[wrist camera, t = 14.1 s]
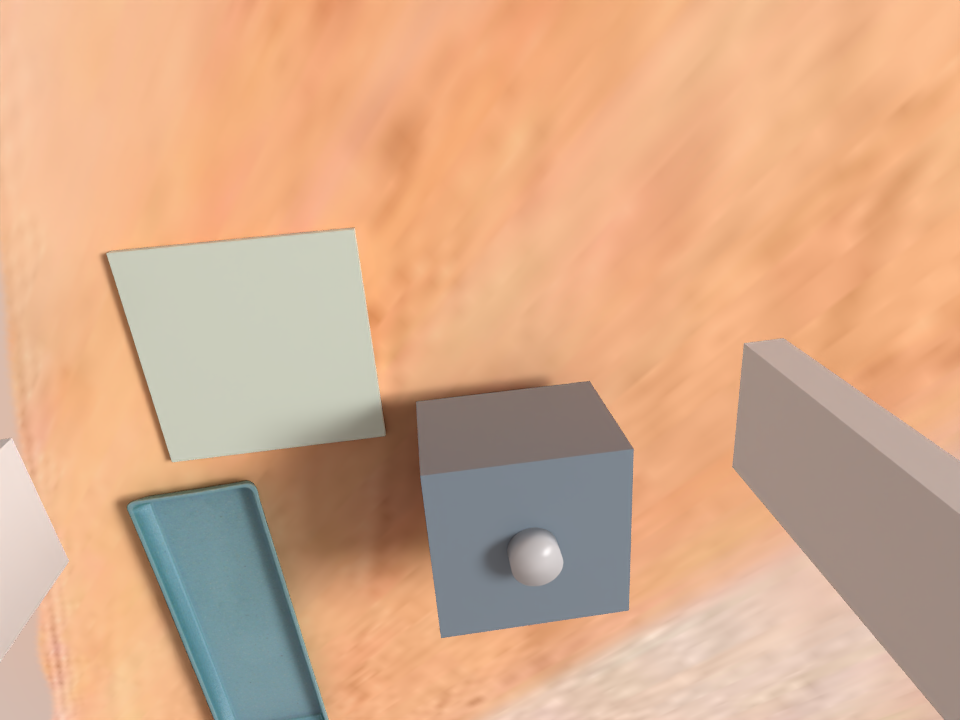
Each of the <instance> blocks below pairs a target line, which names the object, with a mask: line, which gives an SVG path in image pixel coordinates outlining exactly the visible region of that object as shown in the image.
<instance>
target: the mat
mask: <svg viewBox="0 0 960 720" xmlns="http://www.w3.org/2000/svg"><path fill="white" fill-rule="evenodd" d="M106 254H107V257H108V260H109V263H110V267H111V270H112V273H113V276H114V279H115V282H116V286H117V289H118V292H119V295H120V298H121V302H122V305H123V308H124V311H125V314H126V317H127V321H128V324H129V327H130V330H131V333H132V336H133V340H134V343H135V346H136V349H137V352H138V356H139V359H140V362H141V365H142V368H143V371H144V375H145V378H146V381H147V384H148V387H149V391H150V394H151V397H152V400H153V403H154V406H155V410H156V413H157V416H158V419H159V422H160V425H161V429H162V432H163V435H164V438H165V441H166V445H167V448H168V451H169V454H170V457H171V460H172V462H178V461H186V460H194V459H203V458H211V457H219V456H227V455H235V454H243V453H252V452H260V451H268V450H276V449H284V448H292V447H301V446H309V445H317V444H325V443H333V442H341V441H350V440H358V439H366V438H374V437H382V436H386V430H385V423H384V417H383V410H382V404H381V397H380V390H379V384H378V377H377V371H376V364H375V358H374V351H373V344H372V338H371V331H370V325H369V318H368V312H367V305H366V298H365V292H364V285H363V279H362V272H361V266H360V259H359V252H358V246H357V239H356V233H355V227H354V228H344V229H333V230H323V231H313V232H302V233H292V234H282V235H271V236H261V237H250V238H240V239H230V240H219V241H209V242H199V243H188V244H178V245H168V246H157V247H147V248H136V249H126V250H116V251H110V252H108V253H106Z"/></svg>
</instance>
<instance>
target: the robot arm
mask: <svg viewBox="0 0 960 720" xmlns="http://www.w3.org/2000/svg"><path fill="white" fill-rule="evenodd" d="M732 467H733V468H734V469H735V471H736V472H737V473H738V474H739V475H740V477H741V478H742V479H743V480H744V481H745V483H746V484H747V485H748V486H749V487H750V488H751V490H752V491H753V492H754V493H755V494H756V496H757V497H758V498H759V499H760V500H761V502H762V503H763V504H764V505H765V506H766V508H767V509H768V510H769V511H770V512H771V514H772V515H773V516H774V517H775V518H776V519H777V521H778V522H779V523H780V524H781V525H782V527H783V528H784V529H785V530H786V531H787V533H788V534H789V535H790V536H791V537H792V539H793V540H794V541H795V542H796V543H797V545H798V546H799V547H800V548H801V549H802V551H803V552H804V553H805V554H806V555H807V556H808V558H809V559H810V560H811V561H812V562H813V564H814V565H815V566H816V567H817V568H818V570H819V571H820V572H821V573H822V574H823V576H824V577H825V578H826V579H827V580H828V582H829V583H830V584H831V585H832V586H833V588H834V589H835V590H836V591H837V592H838V593H839V595H840V596H841V597H842V598H843V599H844V601H845V602H846V603H847V604H848V605H849V607H850V608H851V609H852V610H853V611H854V613H855V614H856V615H857V616H858V617H859V619H860V620H861V621H862V622H863V623H864V625H865V626H866V627H867V628H868V629H869V630H870V632H871V633H872V634H873V635H874V636H875V638H876V639H877V640H878V641H879V642H880V644H881V645H882V646H883V647H884V648H885V650H886V651H887V652H888V653H889V654H890V656H891V657H892V658H893V659H894V660H895V661H896V663H897V664H898V665H899V666H900V667H901V669H902V670H903V671H904V672H905V673H906V675H907V676H908V677H909V678H910V679H911V681H912V682H913V683H914V684H915V685H916V687H917V688H918V689H919V690H920V691H921V693H922V694H923V695H924V696H925V697H926V698H927V700H928V701H929V702H930V703H931V704H932V706H933V707H934V708H935V709H936V710H937V712H938V713H939V714H940V715H941V716H942V718H943V719H944V720H960V461H959V460H958V459H956V458H955V457H953V456H952V455H950V454H949V453H947V452H946V451H945V450H943V449H942V448H940V447H939V446H937V445H936V444H935V443H933V442H932V441H930V440H929V439H927V438H926V437H925V436H923V435H922V434H920V433H919V432H917V431H916V430H914V429H913V428H912V427H910V426H909V425H907V424H906V423H904V422H903V421H902V420H900V419H899V418H897V417H896V416H894V415H893V414H892V413H890V412H889V411H887V410H886V409H884V408H883V407H881V406H880V405H879V404H877V403H876V402H874V401H873V400H871V399H870V398H869V397H867V396H866V395H864V394H863V393H861V392H860V391H858V390H857V389H856V388H854V387H853V386H851V385H850V384H848V383H847V382H846V381H844V380H843V379H841V378H840V377H838V376H837V375H836V374H834V373H833V372H831V371H830V370H828V369H827V368H825V367H824V366H823V365H821V364H820V363H818V362H817V361H815V360H814V359H813V358H811V357H810V356H808V355H807V354H805V353H804V352H803V351H801V350H800V349H798V348H797V347H795V346H794V345H792V344H791V343H790V342H788V341H787V340H785V339H784V338H782V339H774V340H766V341H758V342H751V343H744V349H743V359H742V370H741V381H740V391H739V402H738V413H737V424H736V434H735V445H734V456H733V466H732ZM68 562H69V560H68V558H67V556H66V553H65V551H64V549H63V547H62V545H61V543H60V541H59V538H58V536H57V534H56V532H55V530H54V528H53V525H52V523H51V521H50V519H49V517H48V515H47V512H46V510H45V508H44V506H43V504H42V502H41V500H40V497H39V495H38V493H37V491H36V489H35V487H34V484H33V482H32V480H31V478H30V476H29V474H28V472H27V469H26V467H25V465H24V463H23V461H22V459H21V456H20V454H19V452H18V450H17V448H16V446H15V443H14V441H13V439H12V438H9V439H1V440H0V662H1V661H2V659H3V658H4V656H5V655H6V653H7V652H8V650H9V649H10V647H11V646H12V644H13V643H14V641H15V640H16V638H17V637H18V635H19V634H20V633H21V631H22V630H23V628H24V627H25V625H26V624H27V622H28V621H29V619H30V618H31V616H32V615H33V614H34V612H35V611H36V609H37V608H38V606H39V605H40V603H41V602H42V600H43V599H44V597H45V596H46V594H47V593H48V591H49V590H50V589H51V587H52V586H53V584H54V583H55V581H56V580H57V578H58V577H59V575H60V574H61V572H62V571H63V569H64V568H65V567H66V565H67V564H68Z"/></svg>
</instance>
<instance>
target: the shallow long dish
mask: <svg viewBox="0 0 960 720" xmlns="http://www.w3.org/2000/svg"><path fill="white" fill-rule="evenodd" d="M127 510H128V512H129V515H130V517H131V519H132V521H133V524H134V526H135V528H136V531H137V533H138V536H139V538H140V540H141V543H142V545H143V547H144V550H145V552H146V555H147V557H148V559H149V562H150V564H151V567H152V569H153V571H154V573H155V576H156V579H157V581H158V583H159V586H160V588H161V591H162V593H163V595H164V598H165V600H166V603H167V606H168V608H169V610H170V612H171V615H172V618H173V620H174V622H175V625H176V628H177V630H178V632H179V634H180V637H181V640H182V642H183V645H184V647H185V650H186V652H187V654H188V657H189V660H190V662H191V664H192V667H193V669H194V671H195V674H196V676H197V679H198V681H199V683H200V686H201V689H202V691H203V693H204V696H205V698H206V701H207V703H208V706H209V708H210V711H211V713H212V716H213V718H214V720H329V719H328V716H327V713H326V710H325V707H324V703H323V700H322V697H321V694H320V691H319V687H318V684H317V682H316V678H315V675H314V672H313V669H312V666H311V663H310V659H309V656H308V653H307V650H306V646H305V643H304V640H303V637H302V634H301V630H300V627H299V624H298V621H297V618H296V614H295V611H294V608H293V605H292V602H291V598H290V595H289V592H288V589H287V586H286V582H285V579H284V576H283V573H282V570H281V566H280V563H279V560H278V557H277V554H276V550H275V547H274V544H273V541H272V538H271V534H270V531H269V528H268V525H267V521H266V518H265V515H264V512H263V509H262V505H261V502H260V498H259V495H258V491H257V488H256V486H255V485H254V483H252V482H251V481H241V482H236V483H230V484H224V485H218V486H211V487H205V488H199V489H193V490H186V491H180V492H173V493H167V494H160V495H153V496H148V497H144V498H141V499H138V500H135V501H132V502H130V503H129V504H128V505H127Z"/></svg>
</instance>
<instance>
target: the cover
mask: <svg viewBox="0 0 960 720" xmlns="http://www.w3.org/2000/svg"><path fill="white" fill-rule="evenodd" d="M416 411H417V428H418V446H419V464H420V479H421V486H422V494H423V502H424V509H425V517H426V525H427V532H428V540H429V548H430V556H431V563H432V571H433V579H434V586H435V594H436V602H437V609H438V617H439V625H440V633H441V638H445V637H451V636H458V635H465V634H472V633H479V632H485V631H492V630H499V629H506V628H513V627H519V626H526V625H533V624H540V623H547V622H553V621H560V620H567V619H574V618H581V617H587V616H594V615H601V614H608V613H615V612H621V611H628V610H629V586H630V552H631V518H632V484H633V450H634V449H633V447H632V446H631V444H630V443H629V441H628V440H627V438H626V437H625V435H624V433H623V432H622V430H621V429H620V427H619V426H618V424H617V423H616V421H615V420H614V418H613V416H612V415H611V413H610V412H609V410H608V409H607V407H606V406H605V404H604V403H603V401H602V400H601V398H600V396H599V395H598V393H597V392H596V390H595V389H594V387H593V386H592V384H591V383H590V381H587V382H578V383H570V384H561V385H553V386H544V387H536V388H527V389H519V390H510V391H502V392H493V393H485V394H476V395H468V396H459V397H451V398H442V399H434V400H425V401H417V402H416Z"/></svg>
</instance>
